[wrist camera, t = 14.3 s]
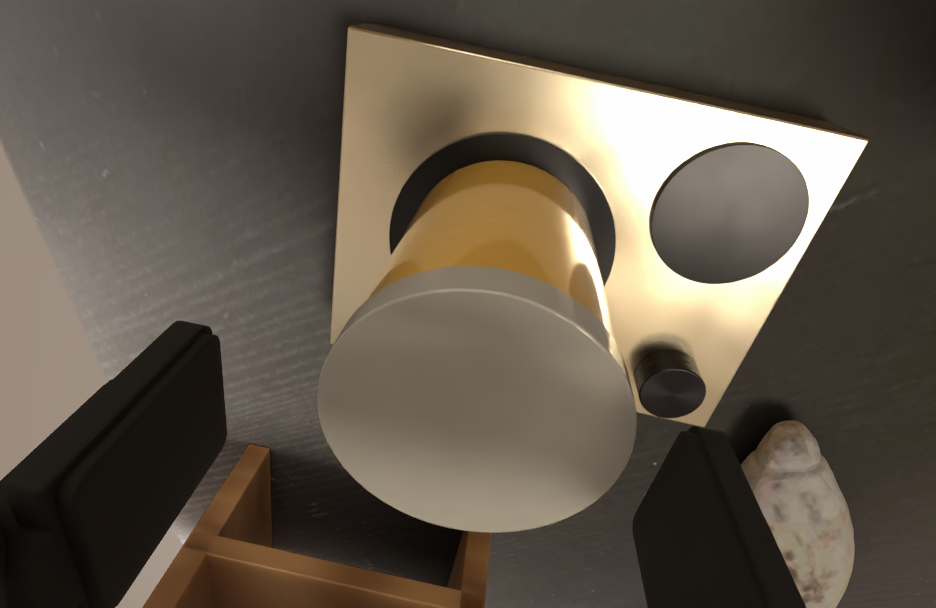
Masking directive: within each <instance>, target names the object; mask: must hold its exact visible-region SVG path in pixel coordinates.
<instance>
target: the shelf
mask: <svg viewBox="0 0 936 608" xmlns="http://www.w3.org/2000/svg"><path fill="white" fill-rule="evenodd" d="M490 542H491V532H473V531H463V533H462V537H461V540H460V544H459V547H458V551H457V554H456V558H455V561H454V565H453V568H452V572H451V575H450V579H449V582H448V586H447V587H442V586H438V585H433V584H429V583H425V582H420V581H416V580H411V579H407V578H403V577H398V576H394V575H389V574H385V573H380V572H376V571H372V570H367V569H363V568H358V567H354V566H350V565H345V564H341V563H336V562H332V561H328V560H323V559H319V558H314V557H310V556H305V555H301V554H297V553H292V552H288V551H283V550H279V549H275V548H272V524H271V475H270V448H266V447H261V446H257V445H253V444H249V445H248V447H247V448H246V450H245V452H244V453H243V455H242V456H241V458H240V459H239V461H238V462H237V464H236V465H235V467H234V468H233V470H232V471H231V473H230V474H229V476H228V478H227V479H226V481H225V482H224V484H223V485H222V487H221V488H220V490H219V491H218V493H217V494H216V496H215V497H214V499H213V500H212V502H211V504H210V505H209V507H208V508H207V510H206V511H205V513H204V514H203V516H202V517H201V519H200V520H199V522H198V523H197V525H196V526H195V528H194V530H193V531H192V533H191V534H190V536H189V537H188V539H187V540H186V542H185V543H184V545H183V546H182V548H181V550H180V551H179V553H178V554H177V556H176V557H175V559H174V560H173V562H172V563H171V565H170V566H169V568H168V569H167V571H166V572H165V574H164V576H163V577H162V578H161V580H160V582H159V583H158V585H157V586H156V588H155V589H154V591H153V592H152V594H151V595H150V597H149V599H148V600H147V601H146V603H145V604H144V606H143V608H484V607H485V596H486V585H487V575H488V564H489V553H490Z"/></svg>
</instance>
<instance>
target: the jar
mask: <svg viewBox="0 0 936 608" xmlns="http://www.w3.org/2000/svg"><path fill="white" fill-rule="evenodd" d="M317 404H318V414H319V418H320V423H321V427H322V430H323V432H324V435H325V438H326V440H327V442H328V444H329V446H330V448H331V450H332V451H333V453H334V455H335V456H336V458H337V459H338V460H339V462H340V463H341V465H342V466H343V467H344V468H345V469H346V471H347V472H348V473H349V474H350V475H351V476H352V477H353V478H354V479H355V480H356V481H357V482H358V483H359V484H360V485H362V486H363V487H364V488H365V489H366V490H367V491H369V492H370V493H371V494H373V495H374V496H376V497H377V498H378V499H380V500H381V501H383V502H385V503H386V504H388V505H390V506H392V507H393V508H395V509H397V510H399V511H401V512H403V513H405V514H408V515H410V516H412V517H415V518H417V519H420V520H423V521H426V522H428V523H432V524H436V525H439V526H443V527H447V528H452V529H458V530H463V531H473V532H493V533H501V532H514V531H522V530H528V529H534V528H538V527H542V526H545V525H549V524H553V523H555V522H558V521H560V520H563V519H566V518H568V517H570V516H572V515H574V514H576V513H578V512H580V511H582V510H583V509H585V508H586V507H588V506H589V505H591V504H592V503H594V502H595V501H597V500H598V499H599V498H600V497H601V496H602V495H603V494H604V493H606V492H607V491H608V490H609V489H610V488H611V486H612V485H613V484H614V483H615V482H616V480H617V479H618V478H619V477H620V475H621V473H622V472H623V470H624V468H625V467H626V465H627V463H628V460H629V458H630V455H631V453H632V450H633V447H634V442H635V437H636V432H637V413H636V407H635V401H634V396H633V392H632V387H631V383H630V379H629V375H628V370H627V367H626V365H625V362H624V359H623V356H622V353H621V351H620V350H619V348H618V346H617V344H616V339H615V335H614V330H613V326H612V321H611V317H610V312H609V307H608V303H607V298H606V294H605V289H604V285H603V280H602V276H601V271H600V267H599V262H598V258H597V253H596V248H595V244H594V239H593V235H592V230H591V226H590V223H589V220H588V217H587V215H586V213H585V211H584V209H583V207H582V205H581V203H580V202H579V200H578V199H577V198H576V196H575V195H574V194H573V193H572V192H571V190H570V189H569V188H568V187H567V186H566V185H565V184H563V183H562V182H561V181H560V180H558V179H557V178H556V177H554V176H552V175H551V174H549V173H547V172H546V171H544V170H541V169H539V168H537V167H535V166H531V165H528V164H525V163H521V162H514V161H502V160H494V161H485V162H480V163H476V164H472V165H469V166H466V167H464V168H461V169H459V170H457V171H455V172H453V173H452V174H450V175H448V176H447V177H445V178H444V179H443V180H441V181H440V182H439V183H438V184H437V185H436V186H435V187H434V188H433V189H432V190H431V191H430V192H429V193H428V195H427V196H426V197H425V199H424V200H423V202H422V203H421V205H420V207H419V209H418V210H417V212H416V214H415V215H414V217H413V219H412V221H411V222H410V224H409V226H408V227H407V229H406V231H405V233H404V234H403V236H402V238H401V239H400V241H399V243H398V245H397V246H396V248H395V250H394V252H393V253H392V255H391V257H390V258H389V260H388V262H387V264H386V265H385V267H384V269H383V270H382V272H381V274H380V276H379V277H378V279H377V281H376V282H375V284H374V286H373V288H372V289H371V291H370V293H369V294H368V296H367V298H366V300H365V301H364V303H363V304H362V305H361V306H360V307H359V308H358V309H357V310H356V311H355V312H354V314H353V315H352V316H351V318H350V319H349V320H348V322H347V323H346V324H345V326H344V328H343V329H342V331H341V333H340V334H339V336H338V338H337V339H336V341H335V343H334V344H333V346H332V348H331V350H330V352H329V354H328V355H327V357H326V359H325V361H324V364H323V367H322V370H321V373H320V376H319V382H318V390H317Z"/></svg>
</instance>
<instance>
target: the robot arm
mask: <svg viewBox="0 0 936 608" xmlns="http://www.w3.org/2000/svg"><path fill="white" fill-rule="evenodd" d="M226 436H227V427H226V414H225V401H224V389H223V376H222V363H221V351H220V341H219V338H218V336H216V335H213V334H212V330H211V329H210V327H208V326H204V325H199V324H194V323H190V322H185V321H176V322H175V323H173V324H172V325H171V326H170V327H169V328H168V329H167V330H165V331H164V332H163V333H162V334H161V335H160V336H159V337H158V338H157V339H156V340H155V341H154V342H153V343H152V344H150V345H149V346H148V347H147V348H146V349H145V350H144V351H143V352H142V353H141V354H140V355H139V356H138V357H137V358H135V359H134V360H133V361H132V362H131V363H130V364H129V365H128V366H127V367H126V368H125V369H124V370H123V371H122V372H120V373H119V374H118V375H117V376H116V377H115V378H114V379H113V380H110V381H109V382H108V383H106V384H105V385H103V386H102V387H101V388H100V389H99V390H98V391H97V392H96V393H95V394H94V395H93V396H92V397H91V398H89V399H88V400H87V401H86V402H85V403H84V404H83V405H82V406H81V407H80V408H79V409H78V410H77V411H76V412H74V413H73V414H72V415H71V416H70V417H69V418H68V419H67V420H66V421H65V422H64V423H62V424H61V425H60V426H59V427H58V428H57V429H56V430H55V431H54V432H53V433H52V434H51V435H49V437H47V438H46V439H45V440H44V441H43V442H42V443H41V444H40V445H39V446H38V447H37V448H35V449H34V450H33V452H31V453H30V454H29V455H28V456H27V457H26V458H25V459H24V460H23V461H21V462H20V463H19V464H18V465H17V466H16V467H15V468H14V469H13V470H12V471H11V472H10V473H9V474H7V475H6V476H5V477H4V478H3V479H2V480H1V481H0V608H115V607H116V606H117V605H118V604H119V602H120V601H121V600H122V598H123V597H124V595H125V594H126V592H127V591H128V589H129V588H130V586H131V585H132V583H133V582H134V580H135V579H136V577H137V576H138V574H139V573H140V571H141V570H142V568H143V567H144V565H145V564H146V562H147V561H148V559H149V558H150V556H151V555H152V553H153V552H154V550H155V549H156V547H157V546H158V544H159V543H160V541H161V540H162V538H163V537H164V535H165V534H166V532H167V531H168V529H169V528H170V526H171V525H172V523H173V522H174V520H175V519H176V517H177V516H178V514H179V513H180V511H181V510H182V508H183V507H184V505H185V504H186V502H187V501H188V499H189V498H190V496H191V495H192V493H193V492H194V490H195V489H196V487H197V486H198V484H199V483H200V481H201V480H202V478H203V477H204V475H205V474H206V472H207V471H208V469H209V468H210V466H211V465H212V463H213V462H214V460H215V459H216V457H217V456H218V454H219V453H220V451H221V450H222V448H223V446H224V443H225V440H226ZM633 536H634V541H635V546H636V551H637V556H638V561H639V566H640V571H641V576H642V581H643V586H644V591H645V596H646V601H647V606H648V608H806V606H805V603H804V601H803V599H802V597H801V595H800V592H799V590H798V588H797V586H796V584H795V582H794V579H793V577H792V575H791V573H790V571H789V569H788V566H787V564H786V562H785V560H784V558H783V556H782V553H781V551H780V549H779V547H778V545H777V543H776V540H775V538H774V536H773V534H772V532H771V529H770V527H769V525H768V523H767V521H766V519H765V517H764V515H763V513H762V511H761V509H760V507H759V504H758V502H757V500H756V498H755V496H754V493H753V491H752V489H751V487H750V485H749V483H748V480H747V478H746V476H745V474H744V472H743V470H742V467H741V465H740V463H739V461H738V459H737V456H736V454H735V452H734V450H733V448H732V446H731V443H730V441H729V439H728V437H727V436H726V434H725V433H723V432H721V431H716V430H712V429H707V428H702V427H697V426H693V427H691V428H690V429H689V430H688V431H687V432H685V431H682V432H681V433H680V434H679V435H678V437H677V438H676V440H675V442H674V444H673V446H672V448H671V449H670V451H669V453H668V455H667V457H666V459H665V460H664V462H663V464H662V466H661V468H660V470H659V471H658V473H657V475H656V477H655V479H654V481H653V482H652V484H651V486H650V488H649V490H648V492H647V493H646V495H645V497H644V499H643V501H642V503H641V504H640V506H639V508H638V510H637V512H636V514H635V516H634V519H633Z"/></svg>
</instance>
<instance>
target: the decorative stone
mask: <svg viewBox="0 0 936 608" xmlns="http://www.w3.org/2000/svg"><path fill="white" fill-rule="evenodd" d="M741 467H742V470H743V472H744V474H745V476H746V478H747V480H748V483H749V485H750V487H751V489H752V491H753V493H754V496H755V498H756V500H757V502H758V504H759V507H760V509H761V511H762V513H763V515H764V517H765V519H766V521H767V523H768V525H769V527H770V529H771V532H772V534H773V536H774V538H775V540H776V543H777V545H778V547H779V549H780V551H781V553H782V556H783V558H784V560H785V562H786V564H787V566H788V569H789V571H790V573H791V575H792V577H793V579H794V582H795V584H796V586H797V588H798V590H799V592H800V595H801V597H802V599H803V601H804V603H805V606H806V608H836V607H837V605H838V603H839V601H840V599H841V598H842V596H843V594H844V592H845V590H846V588H847V585H848V582H849V579H850V576H851V573H852V568H853V562H854V550H855V545H854V536H853V527H852V522H851V518H850V515H849V510H848V506H847V503H846V501H845V498H844V496H843V494H842V492H841V491H840V489H839V487H838V484H837V482H836V479H835V477H834V475H833V472H832V470H831V469H830V467H829V464H828V462H827V461H826V460H825V458H824V457H823V456H822V455H821V454H820V449H819V446H818V443H817V440H816V439H815V438H814V437H813V436H812V434H811V433H810V431H809V430H808V429H807V428H806V427H805V425H803V424H802V423H800V422H798V421H782V422H779V423H777V424H775V425H774V426H772V428H771V429H770V430H769V431H768V432H767V433H766V434H765V436H764V437H763V439H762V440H761V442H760V443H759V445H758V447H757V448H756V450H755V451H753V452H751V453H750V454H749V455H748V457H747V458H746V459H745V460H744V461H743V463H742V464H741Z"/></svg>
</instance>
